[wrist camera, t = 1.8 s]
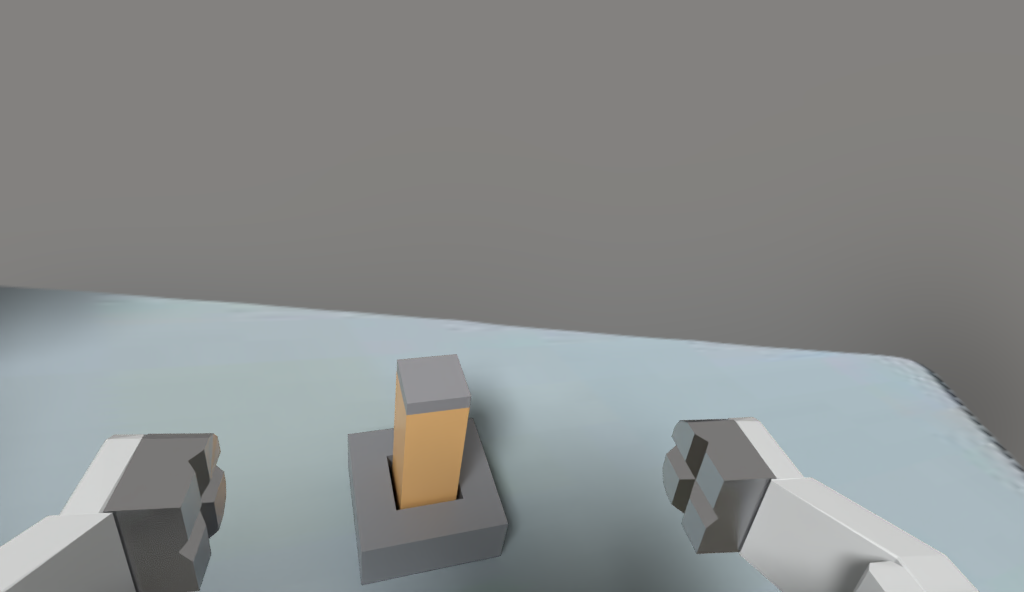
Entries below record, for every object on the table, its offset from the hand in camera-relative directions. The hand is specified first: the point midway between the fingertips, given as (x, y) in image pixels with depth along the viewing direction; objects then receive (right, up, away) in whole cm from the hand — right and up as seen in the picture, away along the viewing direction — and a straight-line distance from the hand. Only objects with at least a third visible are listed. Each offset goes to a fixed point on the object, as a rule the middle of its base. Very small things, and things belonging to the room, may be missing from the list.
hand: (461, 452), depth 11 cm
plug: (-6, -14, +35) cm, 38 cm away
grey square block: (-6, -14, +35) cm, 38 cm away
